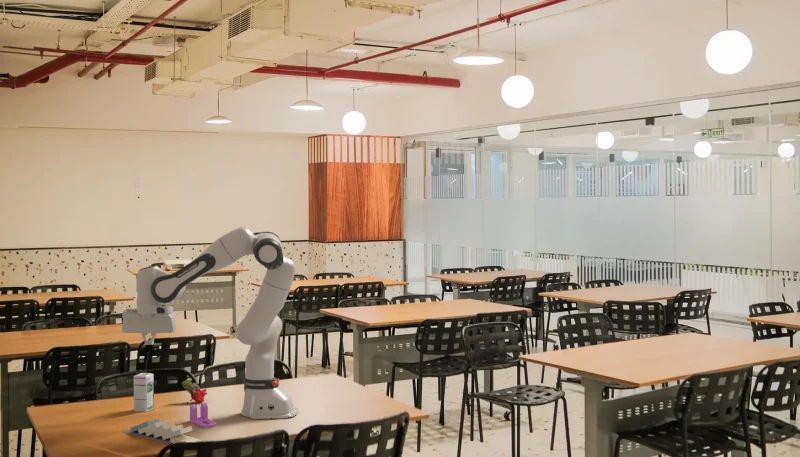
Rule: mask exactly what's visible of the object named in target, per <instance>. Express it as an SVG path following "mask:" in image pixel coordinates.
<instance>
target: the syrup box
mask: <svg viewBox="0 0 800 457" xmlns="http://www.w3.org/2000/svg"><path fill="white" fill-rule="evenodd" d="M154 376H155V375H154V373H151V372H140V373H138V374H135V375H133V411H134V412H137V413H143V412H146V413H147V412H150V411H152V410H154V409H155V392H154V391H155V390H154V389H155V385H154V384H155V383H154Z"/></svg>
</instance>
